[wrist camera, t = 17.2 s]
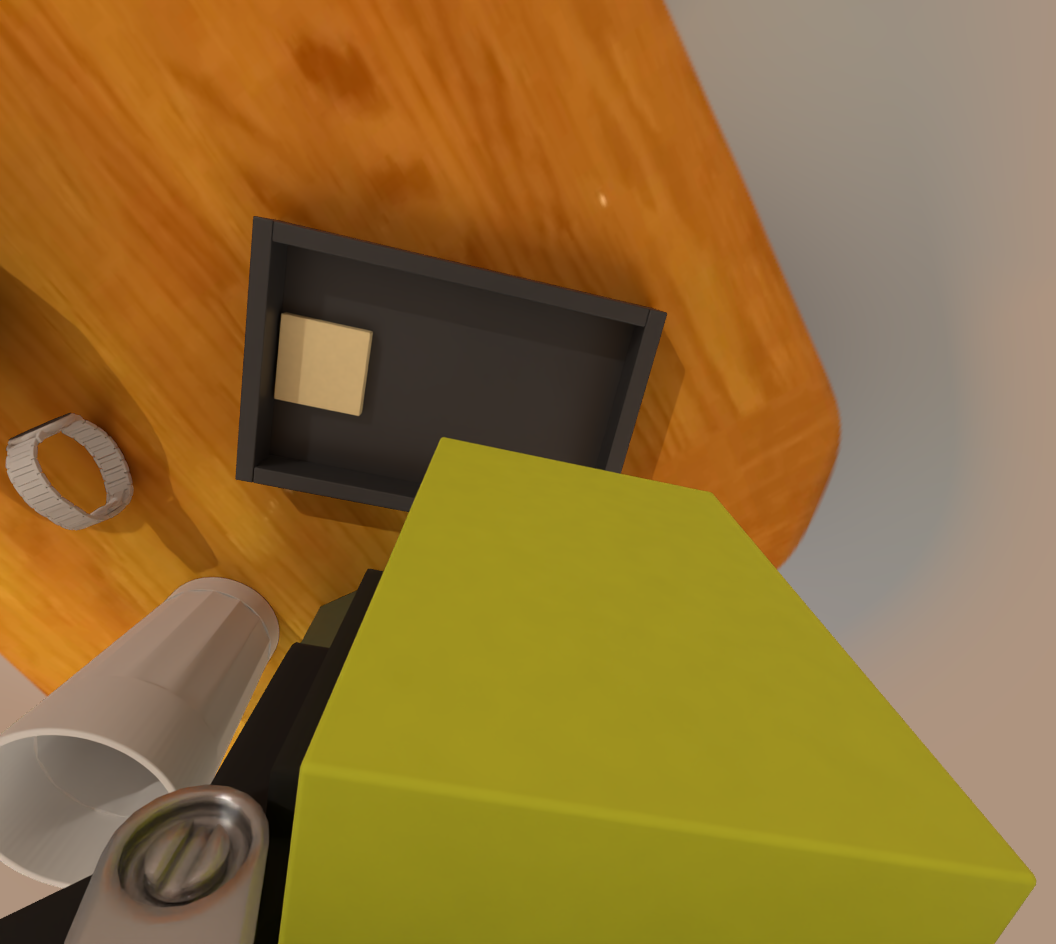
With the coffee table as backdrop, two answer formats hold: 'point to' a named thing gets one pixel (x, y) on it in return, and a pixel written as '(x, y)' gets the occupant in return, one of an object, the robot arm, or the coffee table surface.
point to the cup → (131, 727)
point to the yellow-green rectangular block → (617, 742)
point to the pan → (433, 366)
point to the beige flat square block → (322, 364)
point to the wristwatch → (40, 492)
